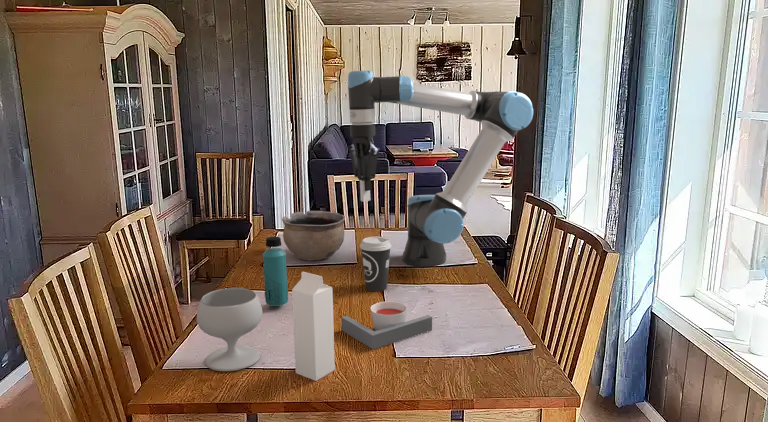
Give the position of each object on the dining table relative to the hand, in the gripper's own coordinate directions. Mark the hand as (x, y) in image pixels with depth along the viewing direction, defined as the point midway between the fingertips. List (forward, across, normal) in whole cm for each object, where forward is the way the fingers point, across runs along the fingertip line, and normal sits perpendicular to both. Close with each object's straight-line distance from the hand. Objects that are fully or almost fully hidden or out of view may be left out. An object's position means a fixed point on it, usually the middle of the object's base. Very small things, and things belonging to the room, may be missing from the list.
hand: (365, 200), depth 179 cm
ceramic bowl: (+25, -30, -1) cm, 39 cm away
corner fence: (+25, +35, -21) cm, 48 cm away
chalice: (+24, +25, -58) cm, 67 cm away
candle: (+25, +36, -21) cm, 49 cm away
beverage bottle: (+25, +3, -34) cm, 42 cm away
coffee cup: (+25, +8, -4) cm, 27 cm away
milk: (+25, +41, -47) cm, 67 cm away
